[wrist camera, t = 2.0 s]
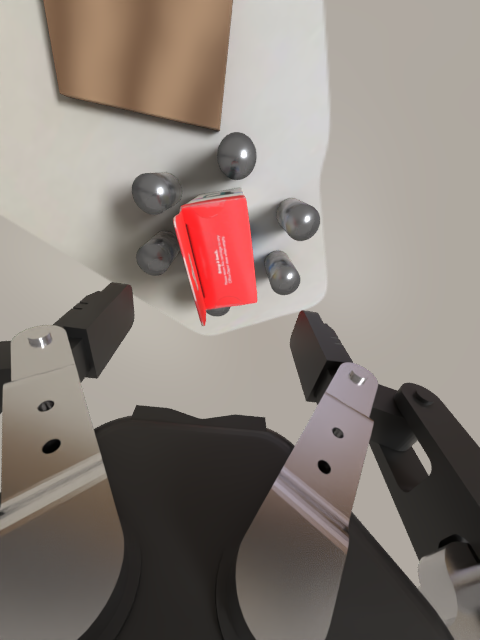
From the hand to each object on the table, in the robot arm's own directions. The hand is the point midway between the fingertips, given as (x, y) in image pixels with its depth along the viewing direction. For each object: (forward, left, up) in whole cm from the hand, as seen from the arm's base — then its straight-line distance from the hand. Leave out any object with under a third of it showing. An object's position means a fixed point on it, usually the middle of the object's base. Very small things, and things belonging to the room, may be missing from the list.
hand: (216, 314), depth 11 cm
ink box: (0, 0, -20) cm, 20 cm away
